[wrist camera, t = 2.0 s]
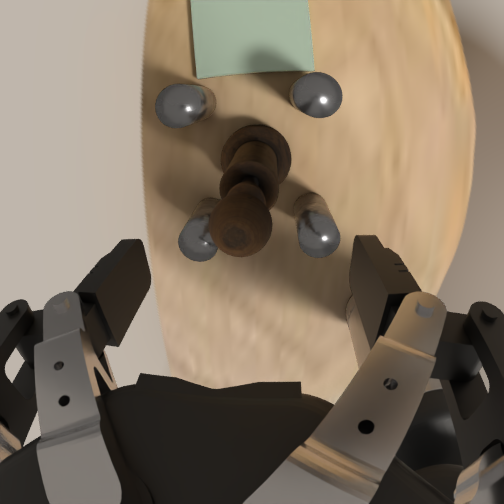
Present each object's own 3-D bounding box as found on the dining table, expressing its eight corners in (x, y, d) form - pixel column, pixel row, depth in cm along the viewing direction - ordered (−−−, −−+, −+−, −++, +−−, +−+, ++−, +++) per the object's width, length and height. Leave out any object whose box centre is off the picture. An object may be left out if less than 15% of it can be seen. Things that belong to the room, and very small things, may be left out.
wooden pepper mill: (240, 195, 31) (207, 311, 15) (213, 141, 28) (138, 204, 12) (299, 172, 29) (331, 271, 13) (274, 114, 26) (278, 139, 11)
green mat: (302, -27, 18) (303, -30, 17) (313, 71, 24) (314, 70, 23) (191, -18, 19) (189, -20, 18) (199, 79, 25) (196, 78, 24)
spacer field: (325, 78, 24) (341, 72, 18) (326, 224, 32) (338, 257, 26) (179, 88, 25) (152, 88, 19) (198, 229, 33) (182, 262, 27)
